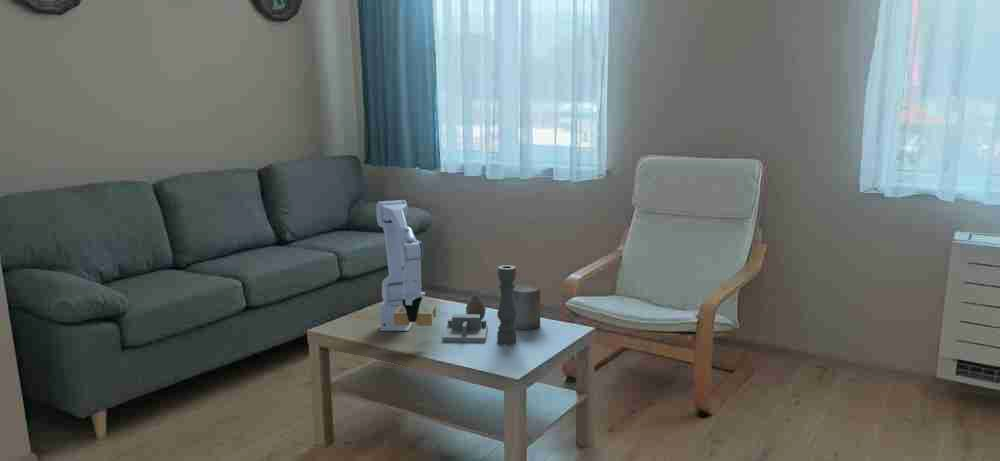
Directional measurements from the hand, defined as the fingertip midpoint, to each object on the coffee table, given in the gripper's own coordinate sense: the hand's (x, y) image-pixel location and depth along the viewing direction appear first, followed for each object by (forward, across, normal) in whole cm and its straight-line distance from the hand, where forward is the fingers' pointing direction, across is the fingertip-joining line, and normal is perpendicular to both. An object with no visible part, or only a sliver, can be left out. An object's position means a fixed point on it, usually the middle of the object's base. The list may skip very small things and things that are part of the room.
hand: (413, 320), depth 243 cm
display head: (+8, +10, -16) cm, 20 cm away
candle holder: (+8, +4, -30) cm, 31 cm away
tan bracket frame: (+2, +5, 0) cm, 5 cm away
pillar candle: (+8, +21, -36) cm, 42 cm away
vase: (+8, +27, -18) cm, 33 cm away
